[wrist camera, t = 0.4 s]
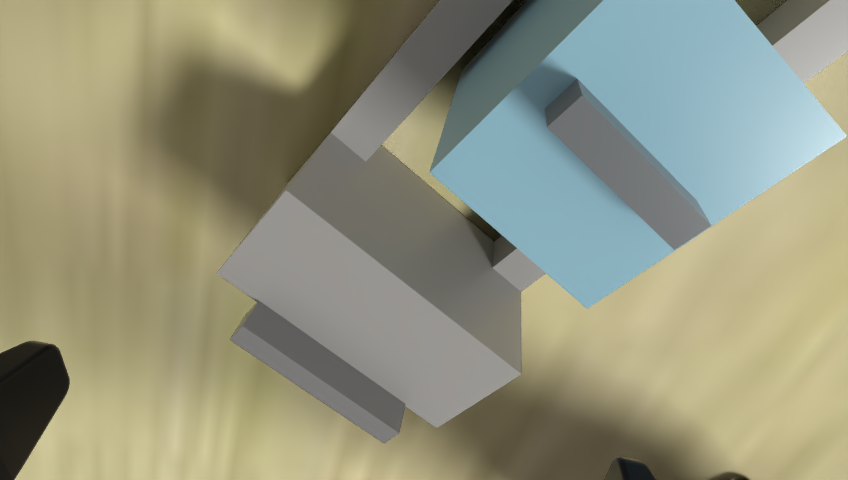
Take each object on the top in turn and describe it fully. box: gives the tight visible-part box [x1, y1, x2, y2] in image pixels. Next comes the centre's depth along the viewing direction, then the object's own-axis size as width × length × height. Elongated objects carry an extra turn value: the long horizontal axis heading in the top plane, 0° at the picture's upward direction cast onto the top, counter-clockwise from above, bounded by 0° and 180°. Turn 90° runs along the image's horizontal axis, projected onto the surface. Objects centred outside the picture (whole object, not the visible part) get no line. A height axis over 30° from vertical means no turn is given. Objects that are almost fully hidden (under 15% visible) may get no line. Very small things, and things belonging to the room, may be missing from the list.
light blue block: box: [429, 0, 847, 309], centre depth 14 cm, size 5×6×9 cm
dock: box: [217, 0, 848, 443], centre depth 16 cm, size 9×18×7 cm, turn 140°
